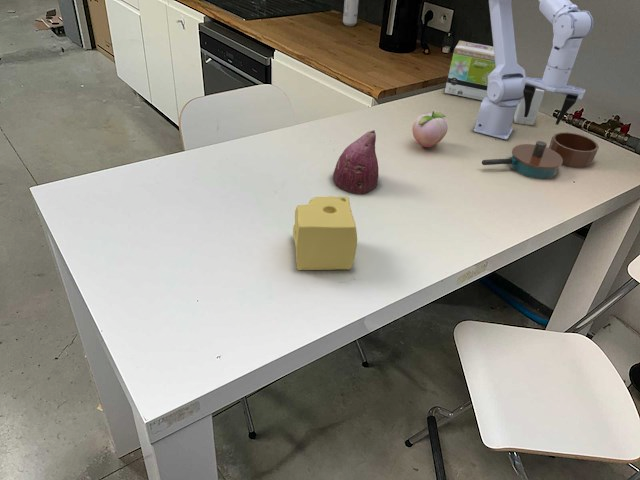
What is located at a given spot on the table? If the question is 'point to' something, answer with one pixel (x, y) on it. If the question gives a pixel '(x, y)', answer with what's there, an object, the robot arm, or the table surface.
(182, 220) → the table surface
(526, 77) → the robot arm
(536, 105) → the small box
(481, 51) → the tea box
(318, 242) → the cheese
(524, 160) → the lid
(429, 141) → the decorative fruit
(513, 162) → the pan handle
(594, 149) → the casserole
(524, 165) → the pan
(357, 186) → the vegetable
